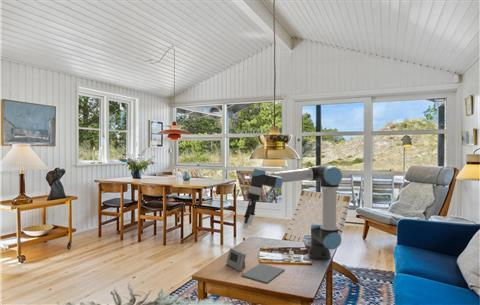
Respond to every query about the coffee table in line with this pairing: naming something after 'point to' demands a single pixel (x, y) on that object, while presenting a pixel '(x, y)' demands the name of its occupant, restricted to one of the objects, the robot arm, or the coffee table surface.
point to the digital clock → (236, 259)
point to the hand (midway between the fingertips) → (247, 226)
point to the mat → (263, 273)
